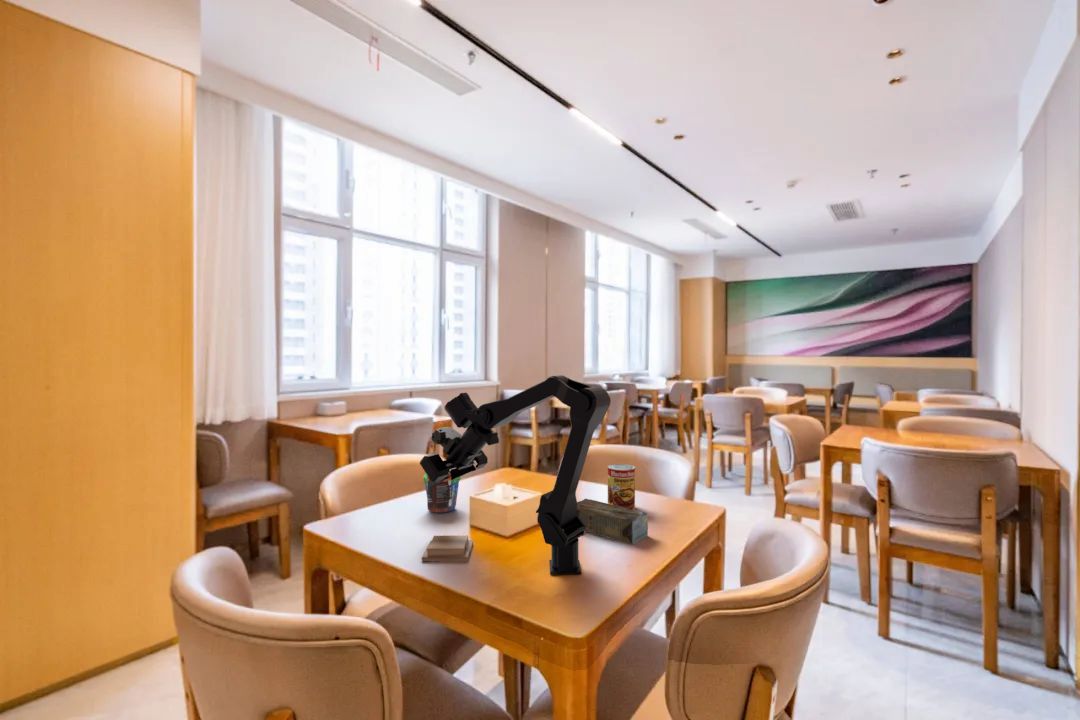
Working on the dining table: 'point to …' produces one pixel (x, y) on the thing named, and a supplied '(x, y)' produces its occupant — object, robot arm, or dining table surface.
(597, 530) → the beverage carton
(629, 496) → the canned food
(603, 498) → the dining table surface
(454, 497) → the snack cup
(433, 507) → the supplement bottle
